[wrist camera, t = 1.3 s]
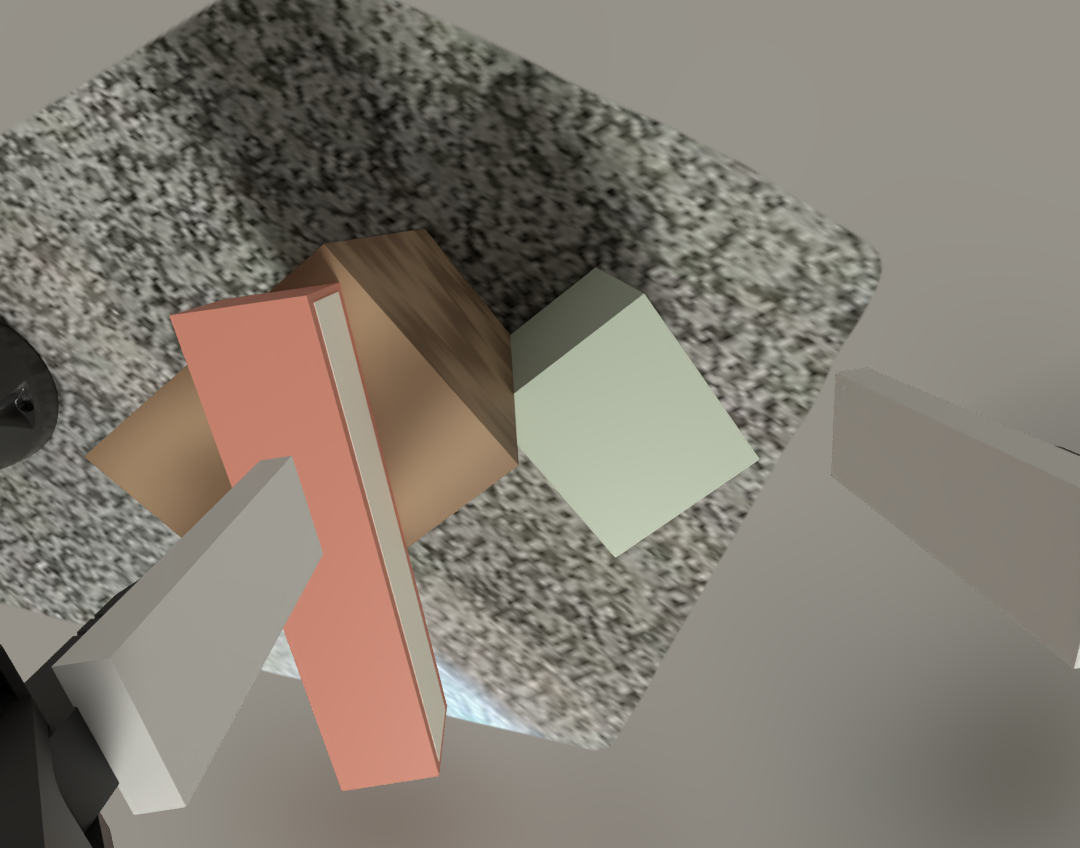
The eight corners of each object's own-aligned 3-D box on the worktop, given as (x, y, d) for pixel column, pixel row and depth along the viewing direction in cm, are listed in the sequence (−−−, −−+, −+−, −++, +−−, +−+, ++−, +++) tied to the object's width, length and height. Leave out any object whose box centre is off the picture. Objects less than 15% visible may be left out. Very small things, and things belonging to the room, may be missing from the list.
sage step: (493, 348, 54) (489, 412, 36) (595, 267, 52) (644, 293, 34) (581, 453, 58) (615, 557, 40) (678, 382, 56) (759, 459, 38)
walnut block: (309, 327, 52) (84, 456, 24) (424, 228, 50) (323, 243, 22) (399, 423, 56) (294, 631, 28) (510, 334, 54) (518, 465, 26)
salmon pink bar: (447, 705, 30) (439, 775, 26) (361, 719, 30) (341, 791, 26) (339, 282, 22) (307, 295, 19) (224, 299, 22) (169, 315, 19)
